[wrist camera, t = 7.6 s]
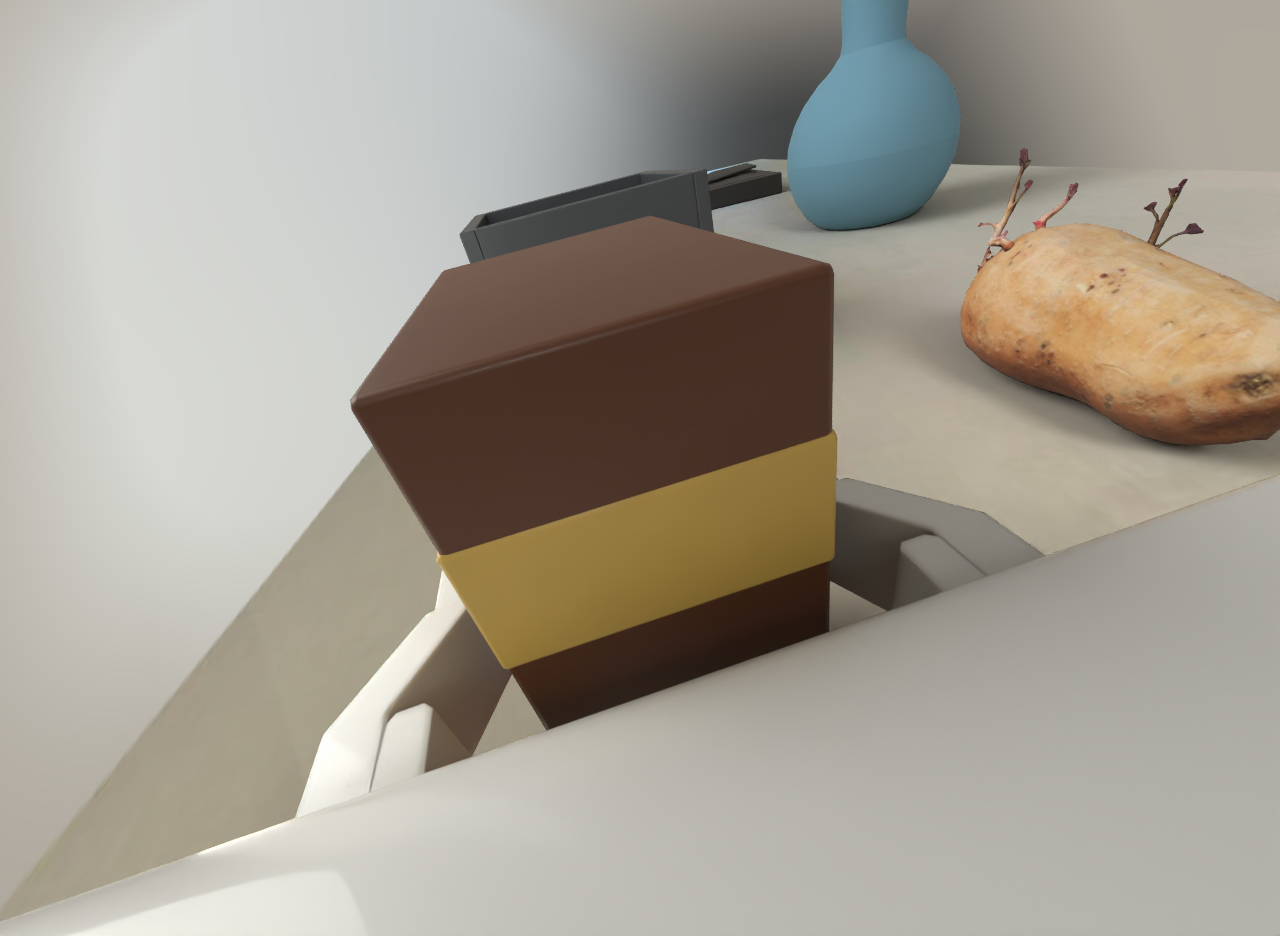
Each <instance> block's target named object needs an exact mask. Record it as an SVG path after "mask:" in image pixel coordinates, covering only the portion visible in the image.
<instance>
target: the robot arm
mask: <svg viewBox="0 0 1280 936" xmlns="http://www.w3.org/2000/svg"><path fill="white" fill-rule="evenodd" d="M830 581H832V582H834V583H836V584H837V585H839V586H841V587H843V588H845V589H847V590H849V591H851V592H853V593H854V594H856V595H858V596H860V597H862V598H864V599H866V600H868V601H870V602H871V603H873V604H875V605H877V606H879V607H881V608H883V609H885V610H887V612H884V613H881V614H878V615H875V616H873V617H870V618H867V619H864V620H861V621H858V622H855V623H852V624H850V625H847V626H844V627H841V628H838V629H835V630H832V631H830V632H827V633H824V634H821V635H818V636H815V637H812V638H810V639H807V640H804V641H801V642H798V643H795V644H792V645H790V646H787V647H784V648H781V649H778V650H775V651H772V652H770V653H767V654H764V655H761V656H758V657H755V658H752V659H749V660H747V661H744V662H741V663H738V664H735V665H732V666H730V667H727V668H724V669H721V670H718V671H715V672H712V673H710V674H707V675H704V676H701V677H698V678H695V679H692V680H690V681H687V682H684V683H681V684H678V685H675V686H672V687H670V688H667V689H664V690H661V691H658V692H655V693H652V694H650V695H647V696H644V697H641V698H638V699H635V700H632V701H630V702H627V703H624V704H621V705H618V706H615V707H612V708H610V709H607V710H604V711H601V712H598V713H595V714H592V715H590V716H587V717H584V718H581V719H578V720H575V721H572V722H570V723H567V724H564V725H561V726H558V727H555V728H552V729H550V730H547V731H544V732H541V733H538V734H535V735H532V736H530V737H527V738H524V739H521V740H518V741H515V742H512V743H510V744H507V745H504V746H501V747H498V748H495V749H492V750H490V751H487V752H484V753H481V754H478V755H475V756H472V755H473V753H474V751H475V749H476V747H477V745H478V743H479V741H480V739H481V737H482V735H483V732H484V730H485V728H486V726H487V724H488V722H489V720H490V718H491V716H492V714H493V712H494V710H495V708H496V706H497V704H498V701H499V699H500V697H501V695H502V693H503V691H504V689H505V687H506V685H507V683H508V681H509V679H510V677H511V675H512V673H511V671H510V669H504V668H503V667H502V665H501V664H500V662H499V661H498V659H497V657H496V656H495V654H494V653H493V651H492V649H491V648H490V646H489V644H488V643H487V641H486V640H485V638H484V636H483V635H482V633H481V632H480V630H479V628H478V627H477V625H476V624H475V622H474V620H473V619H472V617H471V615H470V614H469V612H468V611H467V609H466V607H465V606H464V604H463V603H462V601H461V599H460V598H459V596H458V594H457V593H456V591H455V590H454V588H453V586H452V585H451V583H450V582H449V580H448V578H447V577H446V575H445V573H444V572H443V570H442V574H441V580H440V585H439V591H438V597H437V602H436V608H435V611H433V612H430V613H427V614H426V615H425V616H424V617H423V619H422V620H421V621H420V622H419V623H418V625H417V626H416V627H415V628H414V629H413V630H412V632H411V633H410V634H409V635H408V636H407V637H406V639H405V640H404V641H403V642H402V643H401V644H400V646H399V647H398V648H397V649H396V650H395V651H394V653H393V654H392V655H391V656H390V657H389V658H388V660H387V661H386V662H385V663H384V664H383V665H382V667H381V668H380V669H379V670H378V671H377V673H376V674H375V675H374V676H373V677H372V678H371V680H370V681H369V682H368V683H367V684H366V685H365V687H364V688H363V689H362V690H361V691H360V692H359V694H358V695H357V696H356V697H355V698H354V699H353V701H352V702H351V703H350V704H349V705H348V706H347V708H346V709H345V710H344V711H343V712H342V714H341V715H340V716H339V717H338V718H337V719H336V721H335V722H334V723H333V724H332V725H331V726H330V728H329V729H328V730H327V731H326V732H325V733H324V735H323V737H322V740H321V743H320V746H319V749H318V752H317V755H316V758H315V761H314V764H313V767H312V770H311V773H310V776H309V779H308V782H307V785H306V788H305V791H304V794H303V796H302V799H301V802H300V805H299V808H298V811H297V814H296V817H295V819H292V820H290V821H287V822H284V823H281V824H278V825H275V826H272V827H270V828H267V829H264V830H261V831H258V832H255V833H252V834H250V835H247V836H244V837H241V838H238V839H235V840H232V841H230V842H227V843H224V844H221V845H218V846H215V847H212V848H210V849H207V850H204V851H201V852H198V853H195V854H192V855H190V856H187V857H184V858H181V859H178V860H175V861H173V862H170V863H167V864H164V865H161V866H158V867H155V868H153V869H150V870H147V871H144V872H141V873H138V874H135V875H133V876H130V877H127V878H124V879H121V880H118V881H115V882H113V883H110V884H107V885H104V886H101V887H98V888H95V889H93V890H90V891H87V892H84V893H81V894H78V895H75V896H73V897H70V898H67V899H64V900H61V901H58V902H55V903H53V904H50V905H47V906H44V907H41V908H38V909H35V910H33V911H30V912H27V913H24V914H21V915H18V916H15V917H13V918H10V919H7V920H4V921H1V922H0V936H1280V474H1278V475H1275V476H1273V477H1270V478H1267V479H1264V480H1261V481H1258V482H1255V483H1253V484H1250V485H1247V486H1244V487H1241V488H1238V489H1235V490H1233V491H1230V492H1227V493H1224V494H1221V495H1218V496H1215V497H1213V498H1210V499H1207V500H1204V501H1201V502H1198V503H1195V504H1193V505H1190V506H1187V507H1184V508H1181V509H1178V510H1175V511H1173V512H1170V513H1167V514H1164V515H1161V516H1158V517H1155V518H1153V519H1150V520H1147V521H1144V522H1141V523H1138V524H1135V525H1133V526H1130V527H1127V528H1124V529H1121V530H1118V531H1115V532H1113V533H1110V534H1107V535H1104V536H1101V537H1098V538H1095V539H1093V540H1090V541H1087V542H1084V543H1081V544H1078V545H1075V546H1073V547H1070V548H1067V549H1064V550H1061V551H1058V552H1055V553H1053V554H1050V555H1047V556H1045V555H1044V554H1043V553H1041V552H1040V551H1038V550H1037V549H1035V548H1034V547H1033V546H1031V545H1030V544H1028V543H1027V542H1026V541H1024V540H1023V539H1021V538H1020V537H1018V536H1017V535H1016V534H1014V533H1013V532H1011V531H1010V530H1009V529H1007V528H1006V527H1004V526H1003V525H1001V524H1000V523H999V522H997V521H996V520H994V519H993V518H992V517H990V516H989V515H987V514H986V513H984V512H981V511H977V510H973V509H969V508H965V507H961V506H957V505H953V504H949V503H945V502H941V501H937V500H933V499H929V498H925V497H921V496H917V495H913V494H909V493H905V492H901V491H897V490H893V489H889V488H885V487H881V486H877V485H873V484H869V483H865V482H861V481H857V480H853V479H849V478H845V479H841V480H839V479H838V478H837V477H836V518H835V556H834V558H833V559H832V560H831V561H830Z"/></svg>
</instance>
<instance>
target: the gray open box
mask: <svg viewBox="0 0 1280 936" xmlns="http://www.w3.org/2000/svg"><path fill="white" fill-rule="evenodd" d="M647 216H654V217H657V218H661V219H665V220H668V221H672V222H676V223H680V224H683V225H687V226H691V227H694V228H698V229H702V230H706V231H709V232H713V233H714V229H713V220H712V212H711V203H710V194H709V186H708V177H707V170H706V169H690V170H665V171H646V172H641V173H638V174H634V175H630V176H626V177H622V178H618V179H615V180H611V181H607V182H603V183H599V184H595V185H592V186H588V187H584V188H580V189H576V190H573V191H569V192H565V193H561V194H557V195H554V196H550V197H546V198H542V199H538V200H535V201H531V202H527V203H523V204H519V205H516V206H512V207H508V208H504V209H500V210H497V211H492V212H489V213H486V214H481V215H477V216H475V217H474V218H473V219H472V220H471V222H470V223H469V224H468V225H467V227H466V228H465V229H464V230H463V231H462V232H461V233H460V238H461V240H462V243H463V246H464V248H465V251H466V253H467V256H468V259H469V261H470V264H471V263H474V262H478V261H482V260H486V259H489V258H493V257H497V256H501V255H504V254H508V253H512V252H516V251H519V250H523V249H527V248H531V247H534V246H538V245H542V244H546V243H549V242H553V241H557V240H561V239H564V238H568V237H572V236H576V235H579V234H583V233H587V232H591V231H594V230H598V229H602V228H606V227H609V226H613V225H617V224H621V223H624V222H628V221H632V220H636V219H639V218H643V217H647Z"/></svg>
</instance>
